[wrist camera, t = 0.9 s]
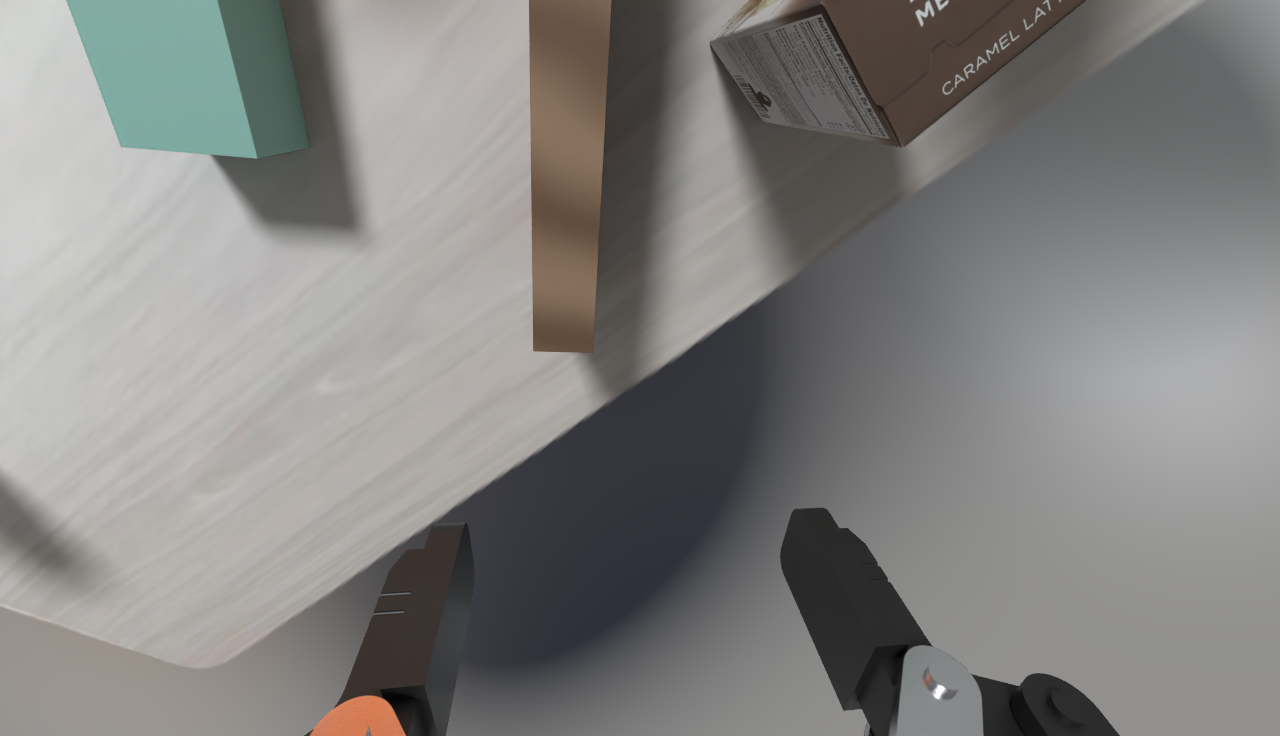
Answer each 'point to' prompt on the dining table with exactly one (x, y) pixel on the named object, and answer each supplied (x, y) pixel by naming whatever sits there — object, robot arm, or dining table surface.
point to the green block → (195, 74)
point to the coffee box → (874, 59)
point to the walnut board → (566, 166)
